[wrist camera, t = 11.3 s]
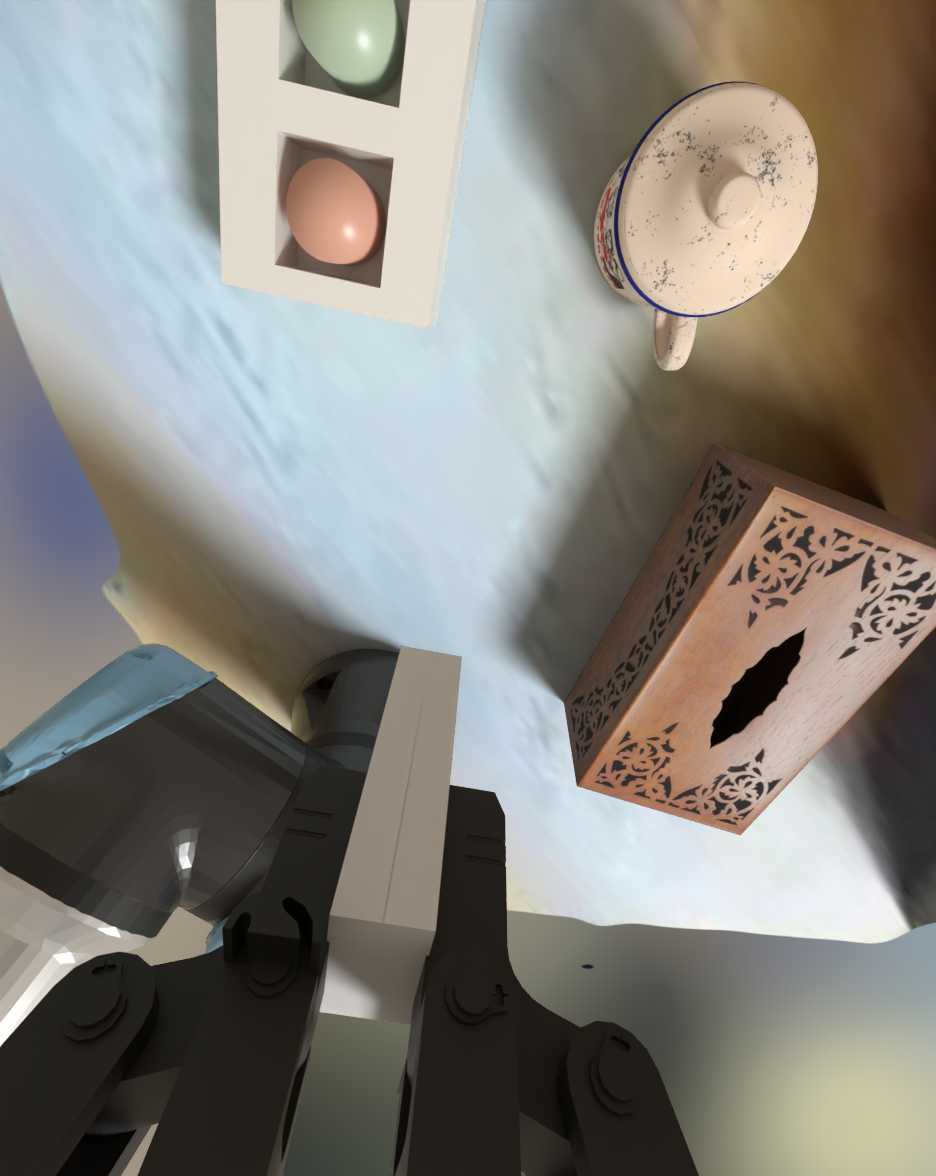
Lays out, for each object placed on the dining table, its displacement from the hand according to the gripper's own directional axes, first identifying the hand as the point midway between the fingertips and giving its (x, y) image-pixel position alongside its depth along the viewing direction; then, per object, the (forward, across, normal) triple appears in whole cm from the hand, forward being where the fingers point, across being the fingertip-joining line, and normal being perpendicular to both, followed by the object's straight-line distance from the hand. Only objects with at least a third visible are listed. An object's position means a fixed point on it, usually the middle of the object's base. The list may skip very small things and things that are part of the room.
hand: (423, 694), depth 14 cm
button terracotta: (+28, +9, -11) cm, 31 cm away
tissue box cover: (+30, -22, +11) cm, 39 cm away
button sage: (+28, +9, -19) cm, 35 cm away
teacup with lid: (+29, -10, -13) cm, 34 cm away
